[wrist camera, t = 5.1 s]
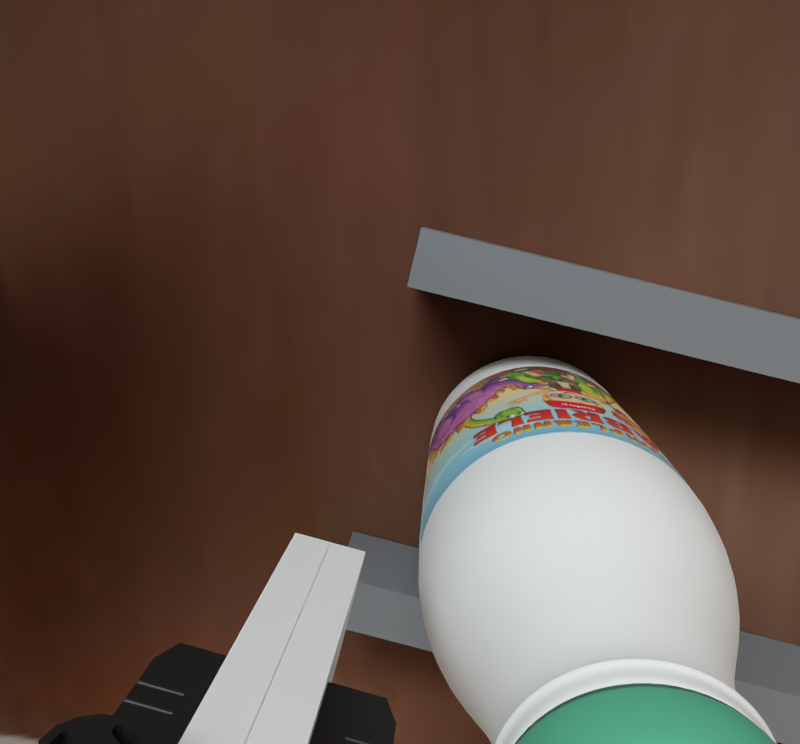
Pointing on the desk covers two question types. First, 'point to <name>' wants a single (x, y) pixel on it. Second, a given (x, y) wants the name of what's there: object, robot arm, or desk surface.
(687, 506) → the milk bottle
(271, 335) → the desk surface
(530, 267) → the bottle rest
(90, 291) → the desk surface
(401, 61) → the desk surface
